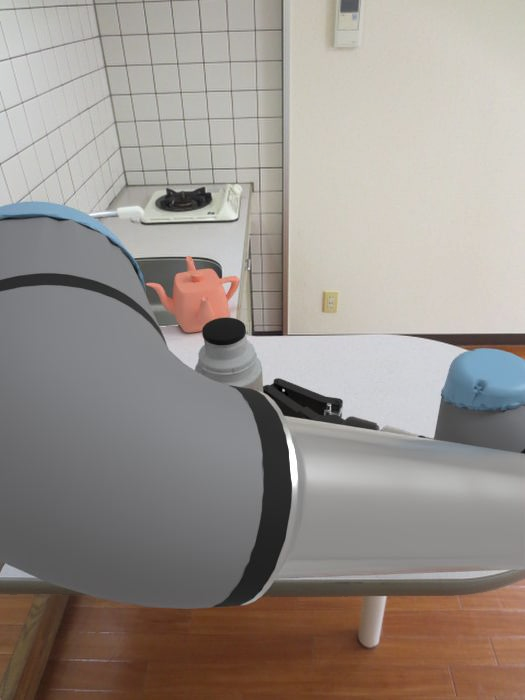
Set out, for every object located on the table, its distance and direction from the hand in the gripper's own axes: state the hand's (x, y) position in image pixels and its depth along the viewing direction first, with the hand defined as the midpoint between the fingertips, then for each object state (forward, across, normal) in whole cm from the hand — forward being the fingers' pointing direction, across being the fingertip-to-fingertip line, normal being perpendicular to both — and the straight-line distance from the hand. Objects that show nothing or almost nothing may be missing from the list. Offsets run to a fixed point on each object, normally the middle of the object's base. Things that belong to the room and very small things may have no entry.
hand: (200, 404), depth 68 cm
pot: (+34, +50, -23) cm, 64 cm away
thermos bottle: (-5, 0, -15) cm, 16 cm away
